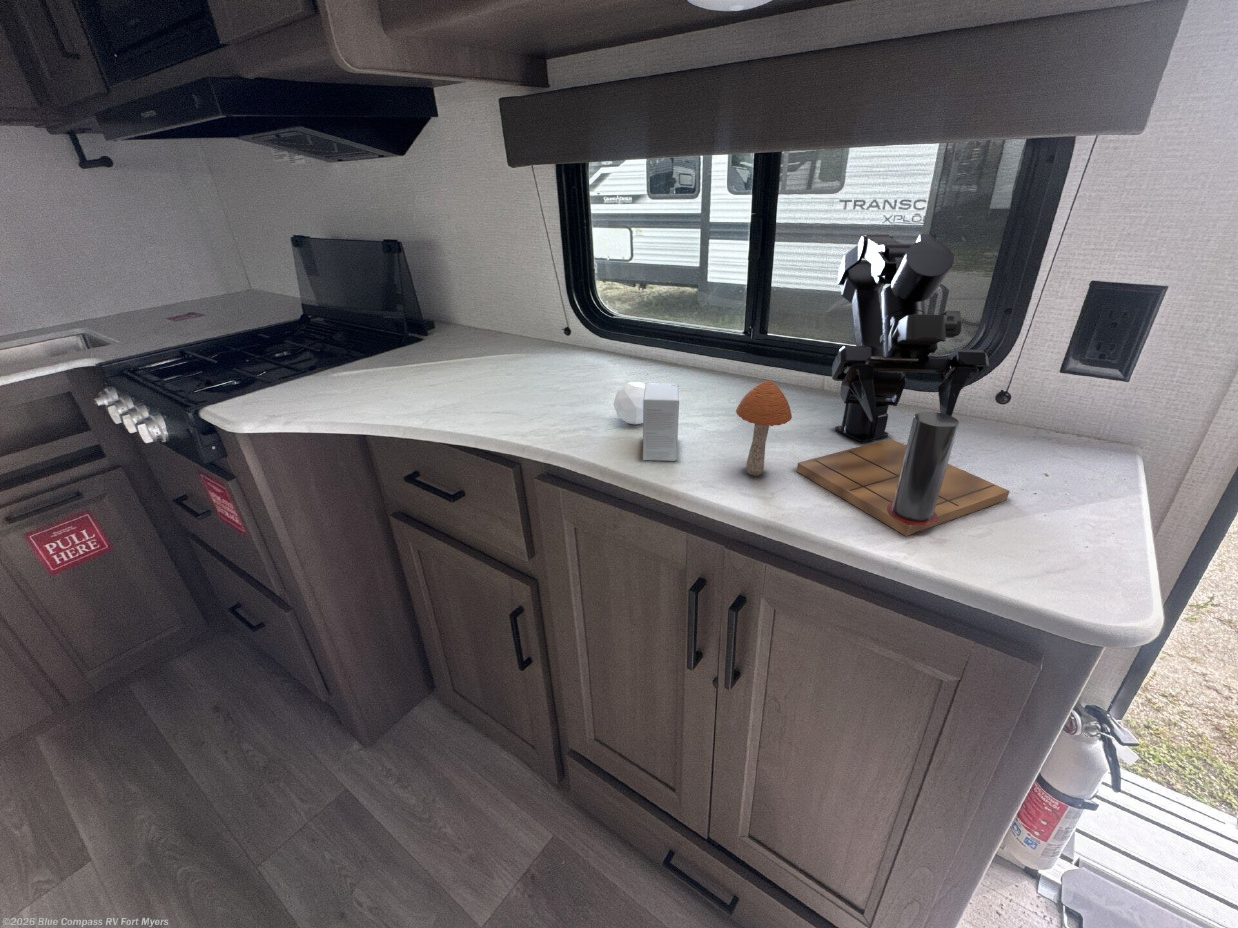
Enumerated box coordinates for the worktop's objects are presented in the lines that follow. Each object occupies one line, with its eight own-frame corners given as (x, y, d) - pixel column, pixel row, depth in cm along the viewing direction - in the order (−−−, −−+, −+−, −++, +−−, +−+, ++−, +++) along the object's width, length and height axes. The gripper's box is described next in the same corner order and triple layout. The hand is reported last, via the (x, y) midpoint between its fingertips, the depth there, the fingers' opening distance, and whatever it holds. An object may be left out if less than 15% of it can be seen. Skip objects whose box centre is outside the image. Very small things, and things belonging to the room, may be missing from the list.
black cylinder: (885, 502, 75) (906, 411, 69) (921, 502, 75) (946, 411, 69) (901, 522, 71) (925, 426, 65) (940, 522, 71) (967, 426, 65)
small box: (644, 440, 98) (645, 382, 93) (676, 441, 97) (679, 382, 93) (641, 460, 91) (642, 399, 86) (676, 461, 90) (679, 399, 86)
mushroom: (785, 488, 82) (799, 390, 75) (730, 484, 83) (739, 387, 77) (781, 464, 89) (793, 372, 82) (730, 460, 90) (738, 370, 84)
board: (796, 471, 87) (797, 461, 86) (888, 446, 95) (890, 437, 94) (912, 540, 70) (915, 529, 69) (1014, 503, 78) (1017, 493, 77)
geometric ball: (629, 431, 108) (627, 391, 110) (665, 424, 104) (663, 383, 105) (605, 424, 102) (604, 381, 103) (643, 416, 98) (641, 372, 99)
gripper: (850, 285, 74) (852, 393, 69) (1004, 288, 71) (1018, 400, 67) (830, 331, 85) (831, 427, 80) (964, 334, 82) (973, 434, 77)
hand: (909, 422), depth 76 cm, fingers open, 9 cm apart
